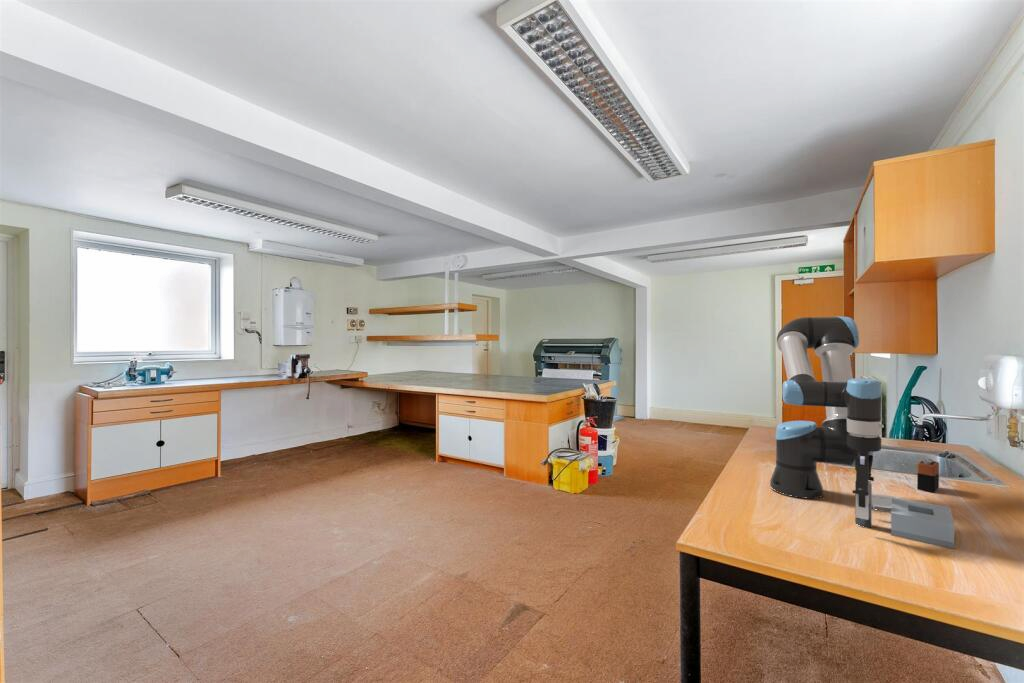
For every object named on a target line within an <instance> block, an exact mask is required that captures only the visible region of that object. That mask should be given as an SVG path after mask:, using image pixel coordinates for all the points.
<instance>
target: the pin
mask: <svg viewBox="0 0 1024 683" xmlns="http://www.w3.org/2000/svg"><path fill="white" fill-rule="evenodd" d="M854 483H855V485H854V486H855V489H854V490H856V480H855V481H854ZM872 486H873V485H872V482H871V483H870V482H868V495H869V519H868V520H866V519H862V518H857V517H856V494H855V495H854V496H855V497H854V498H855V504H854V505H855V506H854V509H855V510H854V511H855V512H854V513H855V516H854V520H855V521H854V522H855V523H856V524H858V525H860V526H864V527H871V526H872V521H873V520H872V519H873V517H872V515H873V514H872V512H873V511H872V510H873V508H872V494H873V492H872V491H873V489H872V488H873V487H872ZM861 490H864V489H861ZM855 523H854V524H855ZM856 524H855V525H856ZM860 526H859V527H860ZM864 527H863V528H864ZM871 528H872V527H871Z"/></svg>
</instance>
